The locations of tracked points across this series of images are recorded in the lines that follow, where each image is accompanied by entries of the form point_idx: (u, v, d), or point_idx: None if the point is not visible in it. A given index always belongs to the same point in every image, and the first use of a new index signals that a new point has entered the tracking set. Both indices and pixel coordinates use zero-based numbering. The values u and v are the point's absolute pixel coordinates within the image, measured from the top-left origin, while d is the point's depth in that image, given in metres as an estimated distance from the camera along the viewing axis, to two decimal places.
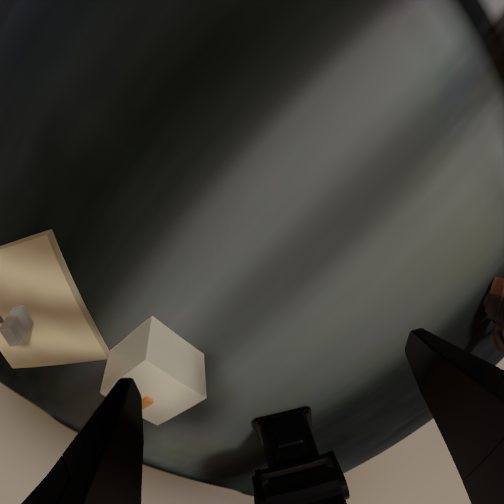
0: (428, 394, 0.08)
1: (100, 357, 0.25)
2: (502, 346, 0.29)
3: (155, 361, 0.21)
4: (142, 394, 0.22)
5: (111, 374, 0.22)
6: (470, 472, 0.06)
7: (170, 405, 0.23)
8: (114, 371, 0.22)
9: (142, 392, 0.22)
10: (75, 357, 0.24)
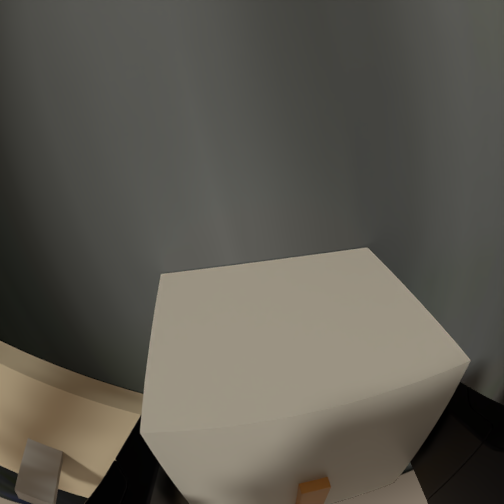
0: None
1: None
2: None
3: (192, 408, 0.05)
4: (284, 487, 0.06)
5: None
6: (434, 492, 0.06)
7: (384, 453, 0.06)
8: None
9: (277, 486, 0.06)
10: None
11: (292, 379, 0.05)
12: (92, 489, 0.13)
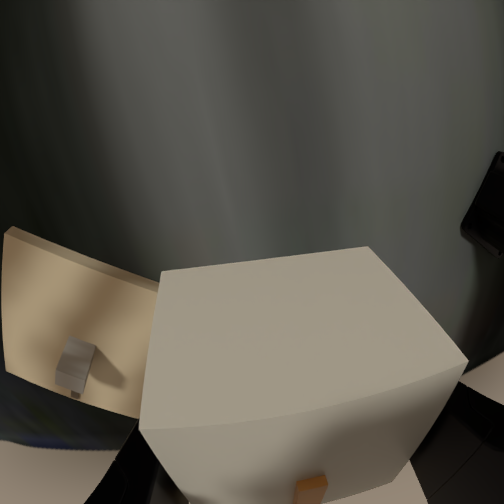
0: None
1: None
2: None
3: (190, 404, 0.05)
4: (282, 485, 0.06)
5: None
6: (434, 492, 0.06)
7: (381, 451, 0.06)
8: None
9: (275, 483, 0.06)
10: None
11: (290, 377, 0.05)
12: (111, 395, 0.20)
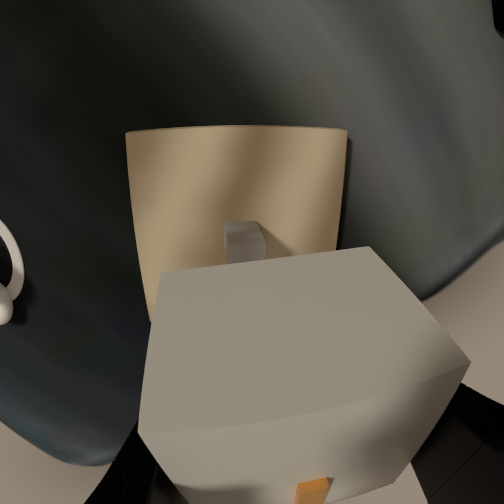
0: None
1: (342, 141, 0.17)
2: None
3: (190, 407, 0.05)
4: (282, 487, 0.06)
5: None
6: (434, 492, 0.06)
7: (383, 453, 0.06)
8: None
9: (276, 486, 0.06)
10: (332, 183, 0.18)
11: (291, 379, 0.05)
12: None
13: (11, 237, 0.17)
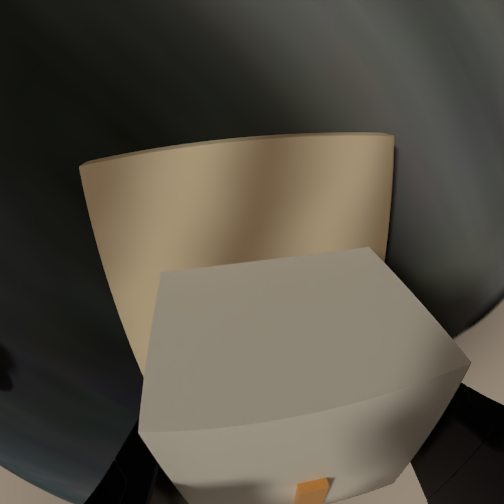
0: None
1: (387, 150, 0.12)
2: None
3: (191, 408, 0.05)
4: (283, 487, 0.06)
5: None
6: (434, 492, 0.06)
7: (383, 454, 0.06)
8: None
9: (276, 486, 0.06)
10: (377, 210, 0.13)
11: (291, 380, 0.05)
12: None
13: None
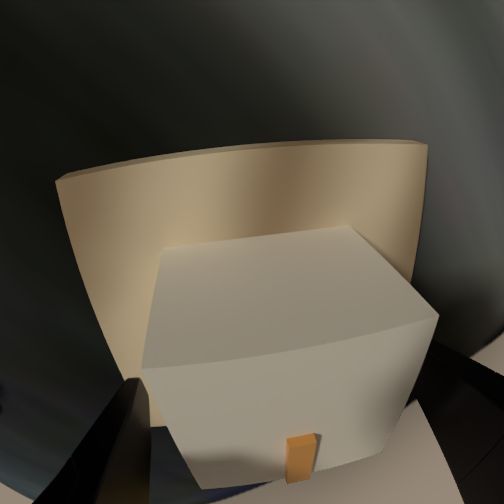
0: (422, 396, 0.08)
1: (420, 162, 0.10)
2: None
3: (187, 348, 0.06)
4: (273, 442, 0.07)
5: None
6: (464, 476, 0.06)
7: (366, 410, 0.07)
8: None
9: (266, 440, 0.07)
10: (405, 230, 0.11)
11: (274, 325, 0.06)
12: None
13: None
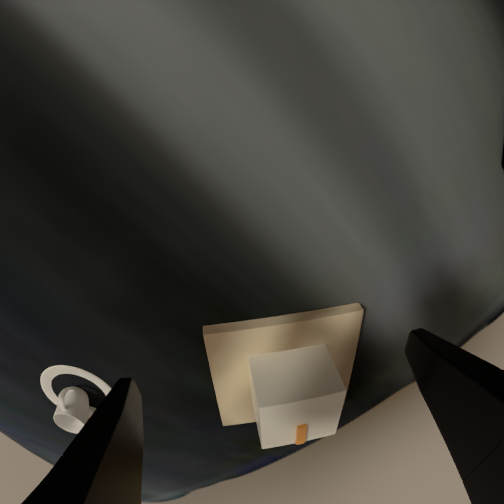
0: (428, 394, 0.08)
1: (359, 316, 0.24)
2: None
3: (270, 400, 0.20)
4: (292, 427, 0.21)
5: (258, 428, 0.22)
6: (470, 472, 0.06)
7: (324, 416, 0.21)
8: (258, 424, 0.22)
9: (290, 426, 0.21)
10: (350, 341, 0.25)
11: (295, 392, 0.20)
12: None
13: (106, 385, 0.24)
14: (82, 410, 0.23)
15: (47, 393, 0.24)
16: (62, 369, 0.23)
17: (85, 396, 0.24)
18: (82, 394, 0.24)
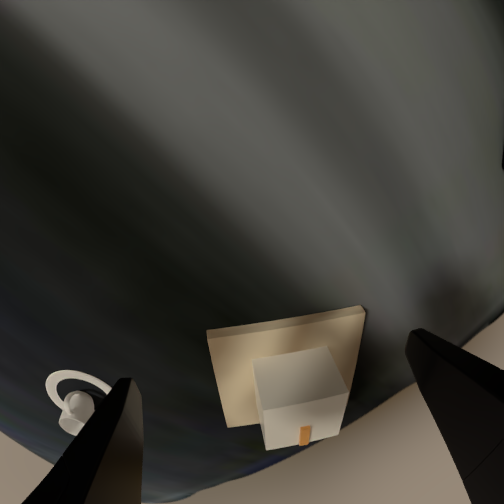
0: (428, 394, 0.08)
1: (361, 319, 0.24)
2: None
3: (274, 403, 0.20)
4: (295, 428, 0.21)
5: (262, 429, 0.23)
6: (470, 472, 0.06)
7: (327, 418, 0.21)
8: (262, 426, 0.23)
9: (293, 427, 0.21)
10: (353, 343, 0.25)
11: (298, 395, 0.20)
12: None
13: None
14: (87, 414, 0.23)
15: (52, 397, 0.25)
16: (67, 374, 0.24)
17: (90, 400, 0.25)
18: (87, 398, 0.24)
